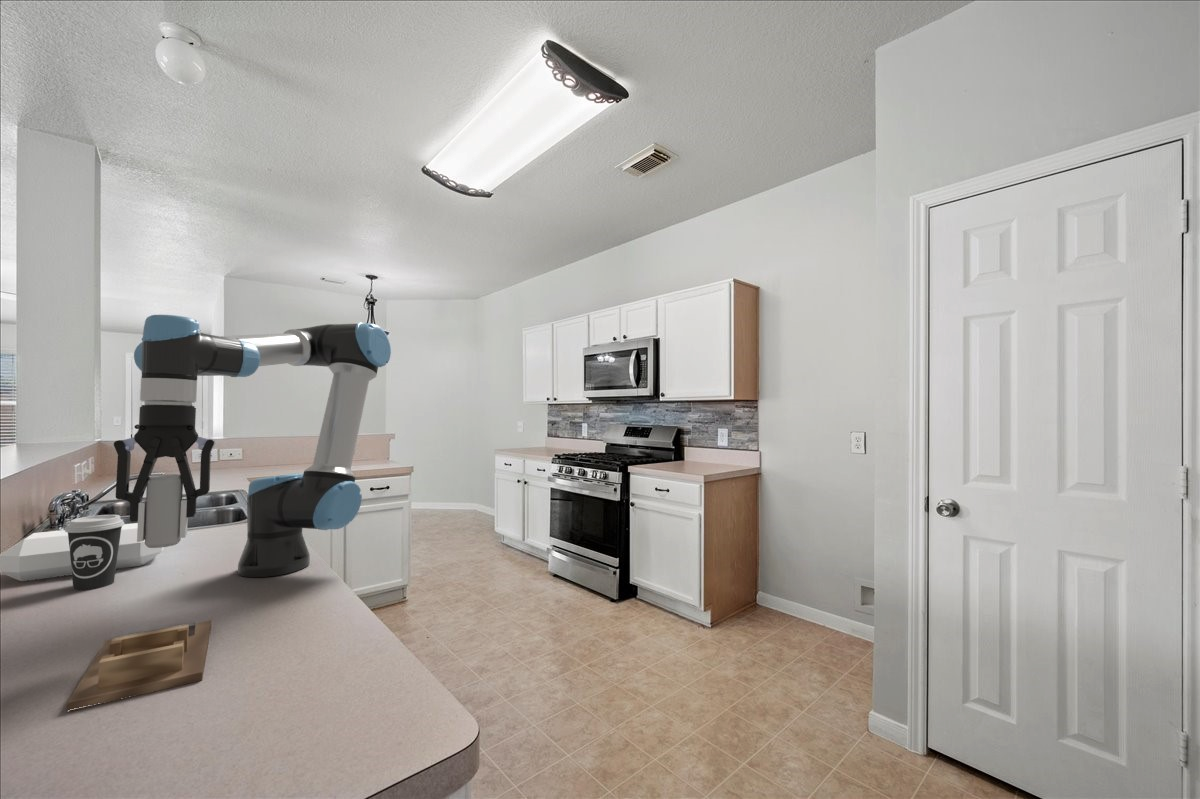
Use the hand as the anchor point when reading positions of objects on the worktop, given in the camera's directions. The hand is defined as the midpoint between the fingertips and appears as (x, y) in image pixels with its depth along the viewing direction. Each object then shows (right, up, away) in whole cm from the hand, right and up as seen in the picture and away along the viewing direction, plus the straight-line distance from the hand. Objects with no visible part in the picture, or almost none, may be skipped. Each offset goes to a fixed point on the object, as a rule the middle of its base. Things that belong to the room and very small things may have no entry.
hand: (162, 537), depth 88 cm
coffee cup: (-38, -18, +26) cm, 49 cm away
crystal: (-51, -18, +38) cm, 66 cm away
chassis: (+5, -17, -8) cm, 20 cm away
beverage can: (0, -1, 0) cm, 1 cm away
